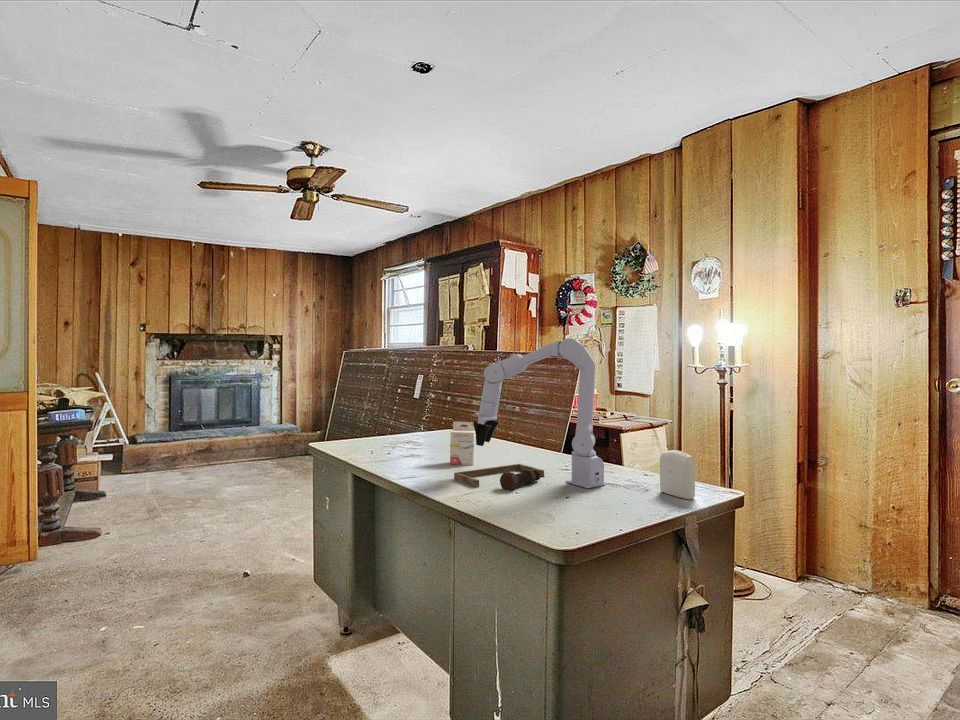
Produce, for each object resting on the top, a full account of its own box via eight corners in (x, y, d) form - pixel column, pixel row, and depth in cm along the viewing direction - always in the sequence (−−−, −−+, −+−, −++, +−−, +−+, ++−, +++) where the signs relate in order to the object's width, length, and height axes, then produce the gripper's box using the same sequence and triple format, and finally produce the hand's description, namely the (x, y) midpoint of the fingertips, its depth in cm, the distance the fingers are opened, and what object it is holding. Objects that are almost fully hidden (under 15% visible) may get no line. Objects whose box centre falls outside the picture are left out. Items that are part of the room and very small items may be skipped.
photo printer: (657, 491, 151) (657, 448, 151) (668, 490, 153) (668, 447, 153) (685, 500, 142) (686, 454, 142) (697, 498, 144) (697, 453, 144)
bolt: (538, 487, 163) (508, 495, 152) (527, 477, 166) (496, 484, 155) (546, 472, 161) (516, 479, 150) (535, 462, 164) (505, 468, 153)
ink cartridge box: (449, 464, 188) (449, 423, 188) (451, 462, 193) (452, 421, 193) (473, 465, 187) (474, 423, 187) (475, 462, 192) (475, 421, 192)
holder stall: (544, 476, 170) (544, 470, 170) (476, 487, 155) (476, 480, 155) (519, 469, 180) (519, 463, 180) (454, 479, 166) (454, 472, 166)
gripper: (484, 397, 177) (477, 437, 178) (471, 401, 163) (464, 444, 164) (504, 401, 175) (497, 442, 176) (493, 405, 161) (486, 449, 162)
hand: (482, 443), depth 169 cm, fingers open, 7 cm apart
